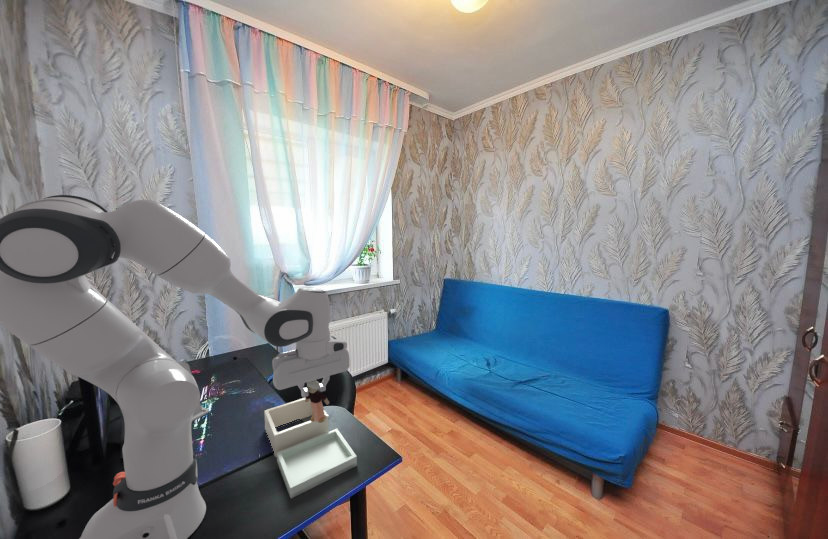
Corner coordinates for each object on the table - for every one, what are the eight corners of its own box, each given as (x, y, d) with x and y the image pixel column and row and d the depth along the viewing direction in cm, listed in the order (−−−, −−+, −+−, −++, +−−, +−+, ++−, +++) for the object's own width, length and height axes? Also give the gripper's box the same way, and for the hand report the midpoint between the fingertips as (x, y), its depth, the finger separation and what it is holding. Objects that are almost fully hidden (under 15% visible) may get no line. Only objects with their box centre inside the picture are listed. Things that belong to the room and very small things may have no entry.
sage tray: (290, 498, 74) (290, 488, 73) (276, 461, 85) (276, 452, 84) (356, 465, 85) (356, 456, 84) (337, 436, 96) (337, 428, 95)
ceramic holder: (275, 457, 86) (274, 435, 85) (265, 430, 97) (264, 410, 96) (328, 435, 96) (328, 415, 95) (313, 412, 107) (313, 394, 106)
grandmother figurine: (304, 424, 84) (295, 385, 80) (310, 414, 87) (301, 376, 84) (330, 424, 83) (322, 384, 80) (335, 413, 87) (327, 376, 83)
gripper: (275, 359, 72) (276, 412, 74) (352, 342, 85) (351, 387, 87) (268, 350, 77) (270, 399, 79) (342, 335, 89) (342, 378, 91)
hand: (313, 393), depth 83 cm, fingers open, 3 cm apart
